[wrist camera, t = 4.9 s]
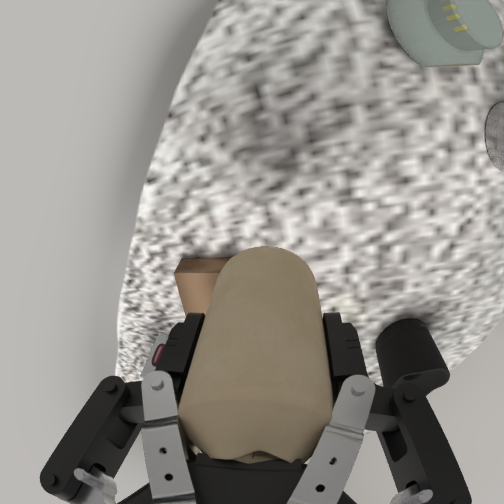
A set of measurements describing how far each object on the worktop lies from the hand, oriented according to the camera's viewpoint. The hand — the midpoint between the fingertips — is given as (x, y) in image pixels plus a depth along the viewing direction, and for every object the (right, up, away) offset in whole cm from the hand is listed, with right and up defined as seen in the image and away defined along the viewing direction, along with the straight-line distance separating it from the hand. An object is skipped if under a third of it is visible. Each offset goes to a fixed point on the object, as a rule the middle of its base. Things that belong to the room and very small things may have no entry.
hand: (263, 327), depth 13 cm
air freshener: (+17, +26, +4) cm, 31 cm away
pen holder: (+22, -9, +24) cm, 34 cm away
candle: (0, +2, +3) cm, 3 cm away
